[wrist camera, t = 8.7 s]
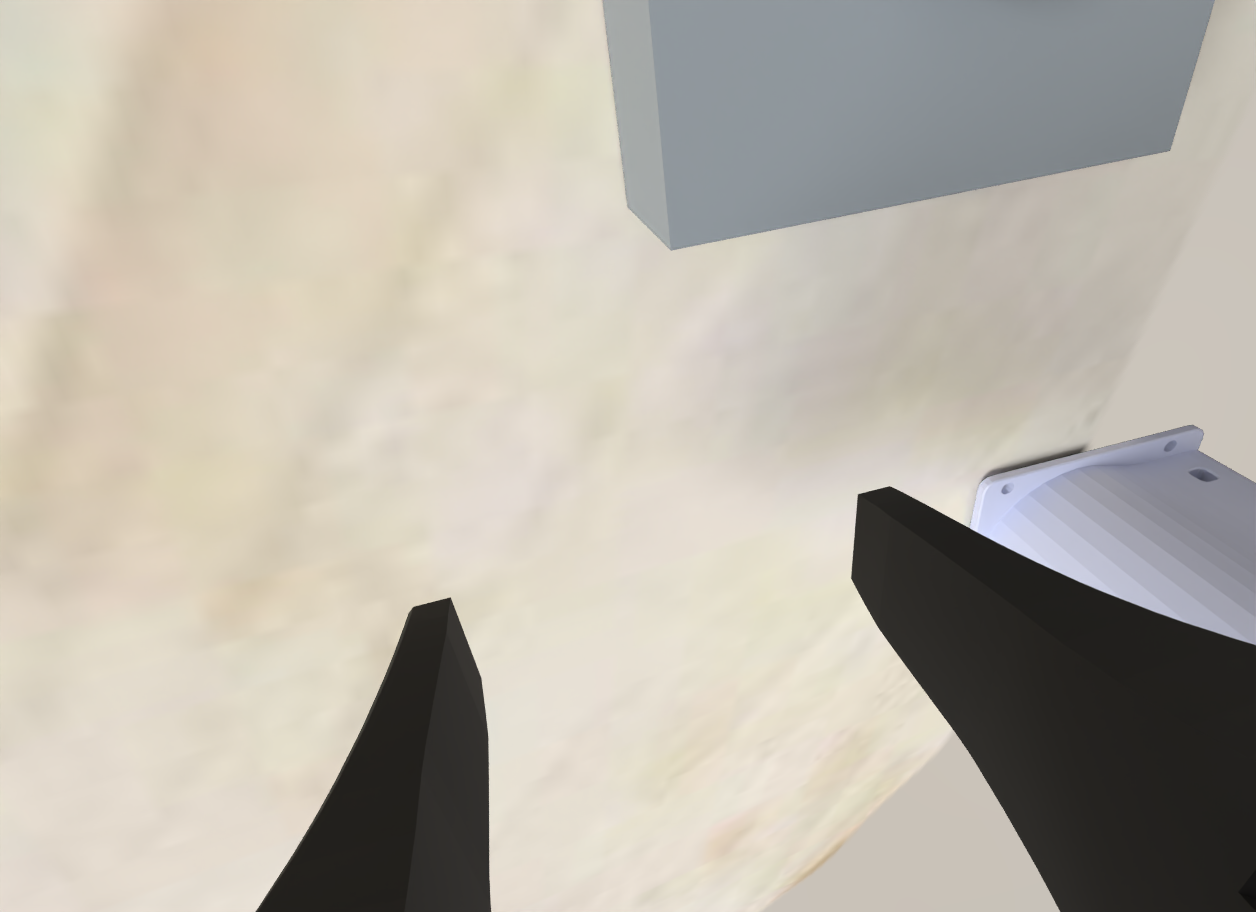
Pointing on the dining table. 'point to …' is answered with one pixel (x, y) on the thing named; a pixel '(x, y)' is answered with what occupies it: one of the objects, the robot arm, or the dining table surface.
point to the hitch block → (880, 101)
